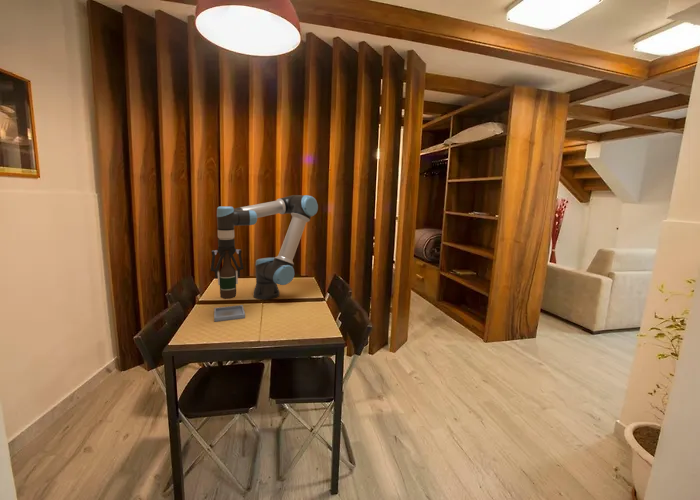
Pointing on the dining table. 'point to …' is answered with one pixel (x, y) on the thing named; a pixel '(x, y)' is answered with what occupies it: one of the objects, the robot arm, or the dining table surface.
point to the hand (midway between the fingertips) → (228, 283)
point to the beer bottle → (227, 278)
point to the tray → (229, 313)
